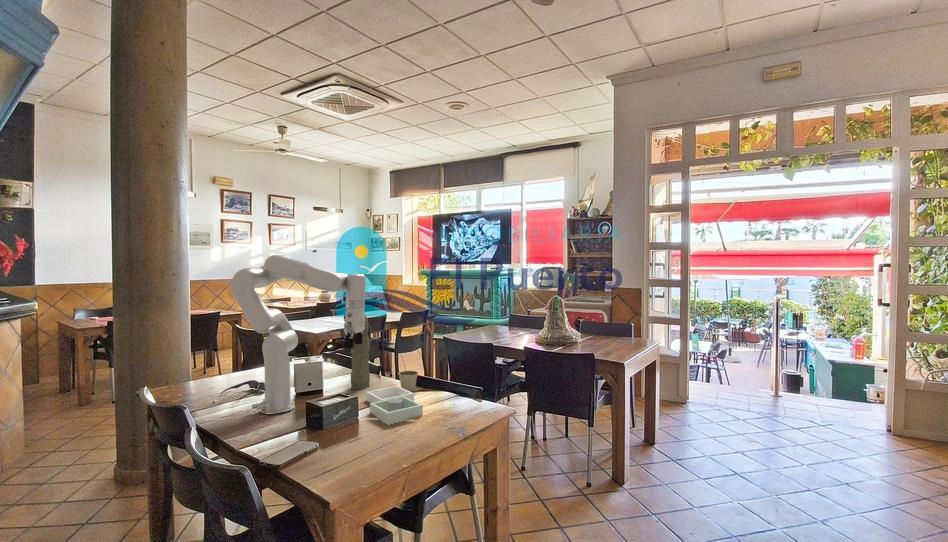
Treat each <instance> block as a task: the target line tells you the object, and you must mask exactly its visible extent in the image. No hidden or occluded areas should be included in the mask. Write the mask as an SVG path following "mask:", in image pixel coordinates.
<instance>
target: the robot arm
mask: <svg viewBox="0 0 948 542" xmlns="http://www.w3.org/2000/svg"><path fill="white" fill-rule="evenodd" d="M366 278H367V277H366V275H364V274H360V273H350V274H349V273H343V272H330V271H326V270H323V269H320V268H316V267H314V266H311V264H310V263H308V262H306V261H302V260H297V259H294V258H292V257H290V256H288V255H283V254H274V255H270V256H268V257H267V258H266V259H265V261H264V265H262V266H260V267H245V268H241V269H240V270H238V271H237V272H236V273H234V275H233V276H232V278H231V282H230V291H231V294H232V296H233V298H234V300H235V301H236V303H237V304H238V306H239V307H240V309H241V311H242V312H243V314H244V316H245V317H246V319H247V320H248V322H249V324H250V325H251V327H252V328H253V330H254V331H255V332H257V333H258V334H266V333H269V334H268V335H267V336H266V337H265V338H264V340H263V342H262V346H261V348H262V349H261V350H262V356H263V362H264V363H263V364H264V383H265V393H264V399H262V401H261V402H258V403H257V402H256V403H251V409H252V410H254V409H256V410H260V413H261V412H263V413H280V412H284V411H287V410H290V409H292V408H294V407H295V404H294V403H292V402H291V362H290V357H289V352H292V351H293V350H294V349H295V348H297V346H298V343H299V337H298V334H297V333H296V331H295V329H294V327H293V326H292V325H291V323H290V321H289V320H288V318H287V317H286V315H285V314H284V312H282V311H281V310H279V309H278V308H274V307H273V308H269V307H268V306H267V304H266V303H265V302H264V300H263V298H262V296H261V295H260V294H258V292H257V291H256V290H255V289H260V288H261V289H262V288H266V287H267V286H270V285H272V284H274V283H276V282H277V281H280V280H281V279H285V280H290V281H294V282H297V283H299V284H302V285H306V286H308V287H311V288H314V289H317V290H321V291H326V292H329V293H335V292H336V293H337V292H342V291H345V309H346V311H345V318H344V319H345V320H344V328H343V333H344V334H343V335H344V349H350V350H351V349H352V348H353V338H352V336H353V334H354V332H355V333H356V334H355V344H362V338H363V330H364V329H365V316H366V314H365V313H366V312H365V307H366V304H365V303H366V281H367V280H366ZM350 333H351V335H350ZM294 409H295V408H294ZM263 413H262V414H263Z"/></svg>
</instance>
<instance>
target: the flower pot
mask: <svg viewBox="0 0 948 542" xmlns="http://www.w3.org/2000/svg"><path fill="white" fill-rule="evenodd" d="M397 374H398V376H399V382H400V387H401V388H403V389H405V390H408V391H410V392H414V391H415V390H416V385H417V379H418V375H419V372H418V371H416V370H402V371H400V372H398V373H397ZM412 374H414V375H412Z"/></svg>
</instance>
